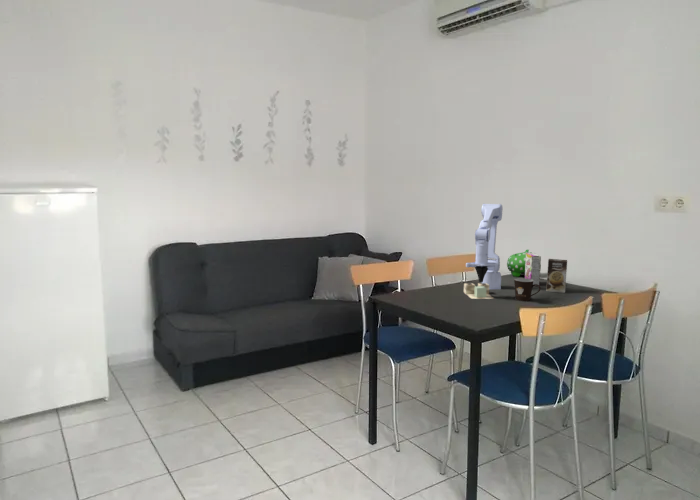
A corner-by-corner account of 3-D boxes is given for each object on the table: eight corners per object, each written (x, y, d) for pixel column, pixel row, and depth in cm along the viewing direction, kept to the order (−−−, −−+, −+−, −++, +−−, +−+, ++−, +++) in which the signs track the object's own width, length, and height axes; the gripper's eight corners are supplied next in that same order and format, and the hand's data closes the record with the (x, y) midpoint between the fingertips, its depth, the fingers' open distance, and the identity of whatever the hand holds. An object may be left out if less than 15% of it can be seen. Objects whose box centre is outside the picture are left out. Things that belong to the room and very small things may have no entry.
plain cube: (483, 295, 256) (483, 286, 255) (486, 297, 251) (486, 288, 251) (474, 295, 256) (474, 286, 255) (476, 297, 251) (477, 288, 251)
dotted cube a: (486, 292, 263) (486, 282, 262) (489, 294, 259) (489, 284, 258) (477, 292, 263) (477, 282, 262) (480, 294, 258) (480, 284, 258)
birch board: (485, 292, 264) (485, 291, 264) (494, 299, 249) (494, 298, 249) (463, 292, 264) (463, 291, 264) (471, 299, 249) (471, 298, 249)
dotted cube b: (472, 292, 263) (472, 282, 262) (474, 294, 258) (475, 284, 258) (463, 292, 263) (463, 282, 262) (465, 294, 258) (466, 284, 257)
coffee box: (546, 291, 268) (547, 260, 265) (546, 288, 274) (548, 258, 271) (565, 293, 264) (567, 261, 262) (565, 290, 270) (567, 259, 268)
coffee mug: (509, 299, 250) (510, 278, 249) (523, 297, 253) (524, 277, 252) (526, 305, 239) (527, 283, 238) (541, 303, 243) (542, 282, 241)
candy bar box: (523, 281, 291) (525, 252, 289) (532, 282, 291) (534, 252, 289) (530, 286, 280) (532, 255, 278) (539, 286, 280) (541, 255, 278)
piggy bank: (540, 278, 300) (542, 252, 298) (507, 277, 303) (509, 252, 301) (536, 274, 314) (537, 249, 312) (505, 273, 317) (506, 248, 315)
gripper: (468, 255, 246) (467, 283, 248) (499, 255, 247) (498, 283, 249) (465, 253, 253) (464, 280, 255) (494, 252, 254) (493, 280, 256)
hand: (480, 281), depth 253 cm, fingers closed
